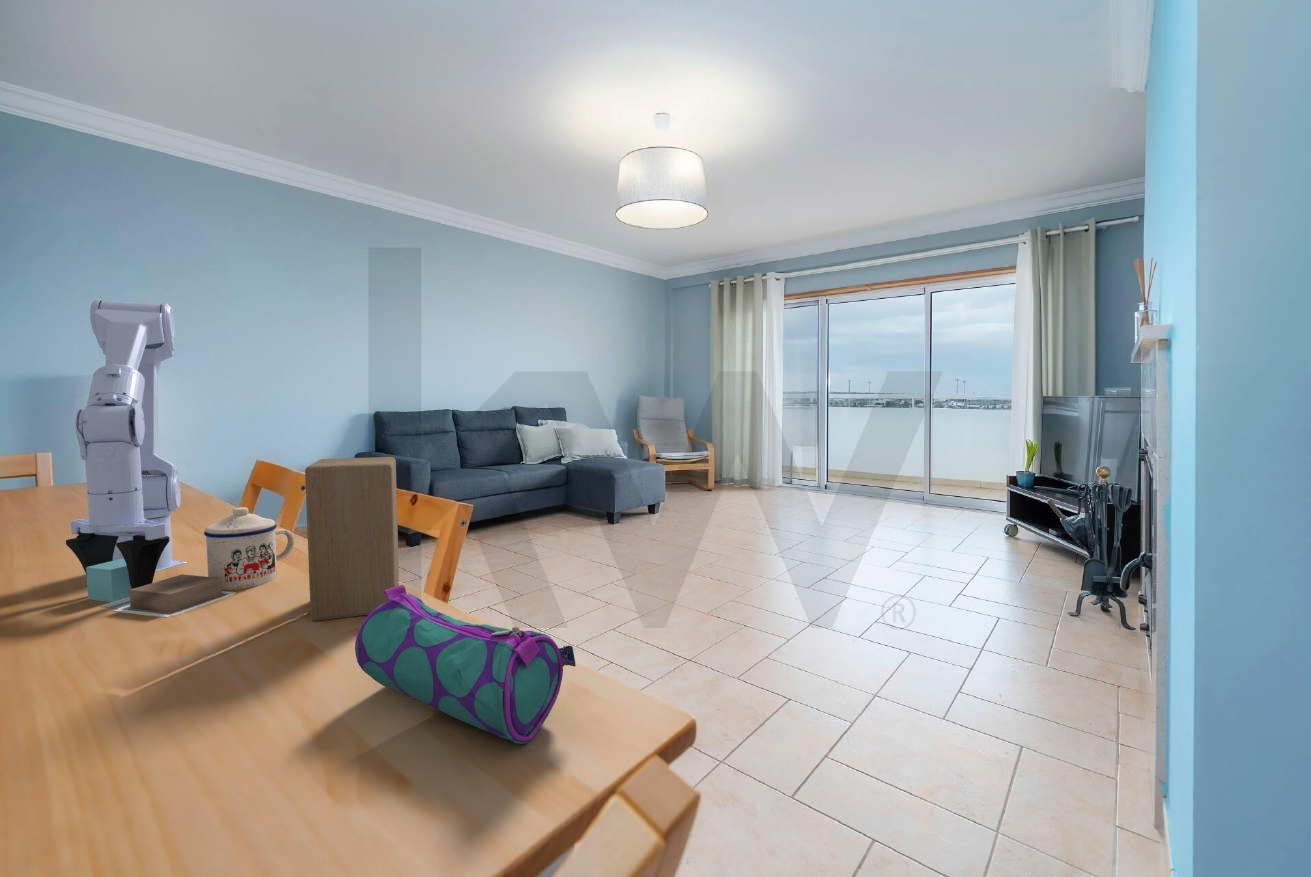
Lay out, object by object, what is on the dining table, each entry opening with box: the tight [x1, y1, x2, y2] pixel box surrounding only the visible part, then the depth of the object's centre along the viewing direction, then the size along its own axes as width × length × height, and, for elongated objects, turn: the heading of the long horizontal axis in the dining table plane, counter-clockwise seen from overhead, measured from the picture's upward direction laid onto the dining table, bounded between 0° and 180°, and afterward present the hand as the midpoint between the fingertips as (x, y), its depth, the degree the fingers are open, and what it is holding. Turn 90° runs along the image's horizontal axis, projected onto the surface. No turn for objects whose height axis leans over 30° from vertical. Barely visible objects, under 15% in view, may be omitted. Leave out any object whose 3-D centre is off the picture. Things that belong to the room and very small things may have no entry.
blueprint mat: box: [100, 590, 237, 619], centre depth 82 cm, size 13×10×1 cm
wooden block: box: [304, 456, 400, 621], centre depth 81 cm, size 10×10×20 cm
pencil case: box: [354, 584, 576, 745], centre depth 55 cm, size 21×9×10 cm, turn 60°
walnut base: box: [129, 573, 223, 613], centre depth 82 cm, size 7×7×2 cm
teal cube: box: [86, 559, 132, 603], centre depth 84 cm, size 4×4×5 cm
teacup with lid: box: [203, 506, 295, 591], centre depth 92 cm, size 12×9×12 cm
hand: (121, 586), depth 84 cm, fingers open, 7 cm apart
